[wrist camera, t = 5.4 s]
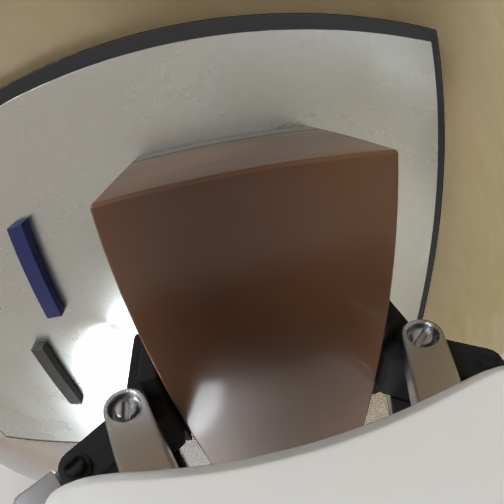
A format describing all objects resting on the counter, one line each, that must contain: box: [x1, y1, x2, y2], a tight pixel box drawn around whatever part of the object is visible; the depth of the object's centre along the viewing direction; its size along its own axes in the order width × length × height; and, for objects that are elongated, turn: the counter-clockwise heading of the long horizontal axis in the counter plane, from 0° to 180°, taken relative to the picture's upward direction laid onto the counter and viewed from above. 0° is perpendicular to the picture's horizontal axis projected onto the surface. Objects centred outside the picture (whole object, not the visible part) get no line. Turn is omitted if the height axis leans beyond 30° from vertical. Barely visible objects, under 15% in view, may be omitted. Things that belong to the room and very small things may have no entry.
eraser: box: [90, 126, 398, 464], centre depth 10 cm, size 6×12×5 cm, turn 8°
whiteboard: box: [0, 13, 445, 443], centre depth 12 cm, size 30×20×1 cm, turn 98°
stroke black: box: [31, 342, 83, 404], centre depth 12 cm, size 1×4×1 cm, turn 8°
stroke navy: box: [7, 219, 65, 318], centre depth 10 cm, size 1×4×1 cm, turn 8°
